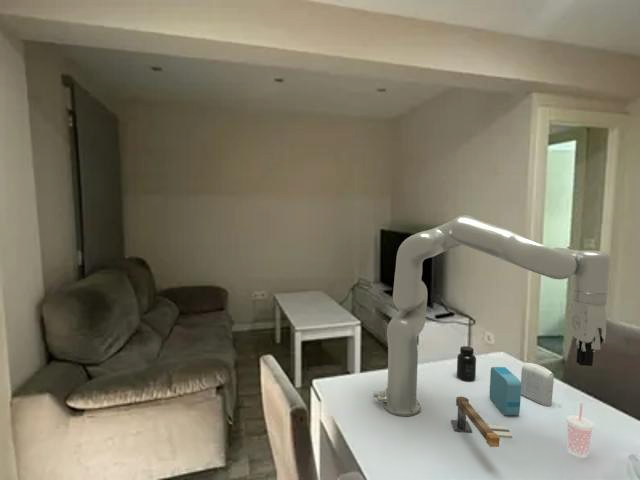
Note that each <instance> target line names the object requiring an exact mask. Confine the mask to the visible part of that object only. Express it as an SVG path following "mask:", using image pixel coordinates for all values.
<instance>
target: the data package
mask: <svg viewBox="0 0 640 480" xmlns="http://www.w3.org/2000/svg"><path fill="white" fill-rule="evenodd" d="M489 379H490V380H489V381H490V382H489V398H490V401H491V402H492V403H493V404H494V406H496V408H497V409H498V410H499V411H500V412H501V414H502V415H504V416H519V415H520V412H521V411H520V409H521V398H522V397H521V396H522V395H521V379H519V378H518V377H517V376H516V375H515V374H514V373H512V372H511V371H510V370H509V369H508V368H507V367H505V366H492V367H490V378H489Z"/></svg>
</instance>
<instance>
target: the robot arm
mask: <svg viewBox="0 0 640 480" xmlns="http://www.w3.org/2000/svg"><path fill="white" fill-rule="evenodd" d="M460 246H465V247H467V248H470V249H473V250H476V251H478V252H482V253H484V254H487V255H490V256H494V258H495V257H496V258H498V259H500V260H502V261H504V262H508V263H510V264H513V265H515V266H517V267H520V268H522V269H525V270H528V271H530V272H531V273H532V272H533V273H535V274H539V275H541V276H544V277H547V278H550V279H553V280H559V281H560V280H566V279H569V278H571V277H572V276H573V282H572V284H573V285H572V298H571V302H570V306H569V311H568V318H567V327H566V330H567V332H568V334H569V335H571V336H572V337H574V338H575V340H576V348H577V351H576V364H578V365H580V366H586V367H587V366H588V367H592V366H593V362H594V353H595V352H596V350H597V351H598V350H599V351H600V350H601V344H604V343H606V337H607V310H606V309H607V308H606V306H608V293H609V292H608V291H609V283H610V281H609V279H610V269H611V256H610V254H609V253H607V252H605V251H599V250H590V249H589V250H588V249H587V250H586V249H585V250H576V249H568V248H565V247H564V248H563V247H550V246H547V245H544V244H541V243H538V242H535V241H533V240H530V239H527V238H525V237H524V236H522V235H520V234H518V233H517V232H515V231H514V230H510V229H509V228H505V227H502V226H498V225H495V224H492V223H488V222H486V221H482V220H481V219H480V220H479V219H477V218H476V217H474V216H472V215H467V214H466V215H459V216H455V218H454V219H453V220H450V221H448V222H446V223H443V224H442V225H441V224H440V225H439V226H436V227H433V228H431V229H428V230H423V231H420V232H417V233H415V234H412V235H409V237H407V238H406V239H404V241H402V242H401V244H400V245H399V247H398V250H397V253H396V260H395V270H394V271H395V272H394V278H393V279H394V281H393V289H392V291H393V292H392V302H393V304H394V305H395V307H396V308H397V309H398V313H397V314H396V315H394V316H393V317H392V318H391V320H390V321H389V323H388V325H387V328H386V337H387V348H388V349H387V352H388V356H387V361H388V362H387V363H388V364H387V387H386V389H385V391H373V398H375V399H376V398H377V401H379V402H382V407H383V409H384V410H386V412H389V413H391V414H392V415H396V416H401V417H410V416H415V415H417V414H419V413H420V412H421V410H422V404H421V401H419V400H418V399H417V394H418V393H417V392H418V391H417V390H418V387H417V386H418V364H419V363H418V361H419V360H418V359H419V356H418V355H419V353H418V351H419V350H418V336H419V335H420V334H421V332H422V331H423V330H424V328H425V324H426V320H427V319H426V317H427V306H428V305H427V304H428V288H427V285H426V284H425V282H424V281H423V280H422V276H423V262H424V261H425V260H426V259H429V258H433V257H436V256H437V255H440V254H442V253H444V252H446V251H450V250H451V249H454V248H457V247H460Z"/></svg>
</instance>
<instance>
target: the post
mask: <svg viewBox="0 0 640 480" xmlns="http://www.w3.org/2000/svg"><path fill="white" fill-rule="evenodd" d="M469 422H470V421H468V420H467V415H466V414H465V413H464V411H463V410H462V409H461V408H460V407H458V406H457V419H451V420H450V423H451V425H452V428H453V431H454V432H455V433H466V434H468V433H469V434H473V429H472V427H471V425H470V423H469Z"/></svg>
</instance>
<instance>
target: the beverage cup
mask: <svg viewBox="0 0 640 480" xmlns="http://www.w3.org/2000/svg"><path fill="white" fill-rule="evenodd" d="M579 404H580V405H579V415H575V414H572V415H571V414H570V415H567V417H566V423H567V451H568V452H569V454H571V455H572V456H574V457H577V458H582V459H583V458H584V459H585V458H587V457H588V456H589V451H590V446H591V445H590V444H591V438H592V433H593V432H592V431H593V430H594V426H595V425H594V423H593V421H591V420H590V419H588V418H585V417H583V414H582V413H583V403H579Z"/></svg>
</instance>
